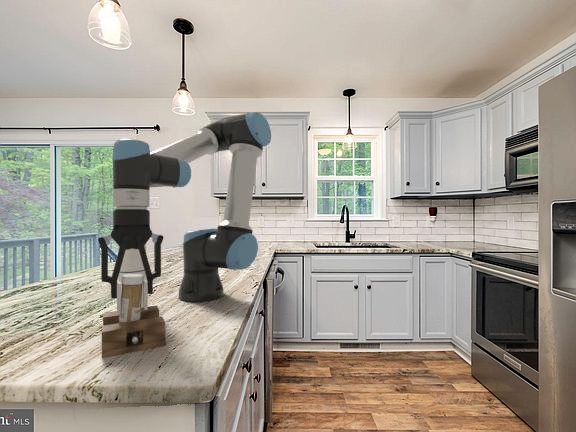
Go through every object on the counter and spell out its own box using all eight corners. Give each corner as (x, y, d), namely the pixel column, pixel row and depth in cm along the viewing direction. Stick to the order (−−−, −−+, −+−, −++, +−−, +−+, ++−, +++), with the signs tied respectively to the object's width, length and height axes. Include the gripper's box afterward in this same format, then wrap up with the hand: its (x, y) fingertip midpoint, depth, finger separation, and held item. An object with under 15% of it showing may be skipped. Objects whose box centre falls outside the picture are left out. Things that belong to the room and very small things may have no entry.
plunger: (139, 335, 71) (139, 324, 71) (141, 345, 65) (141, 334, 65) (127, 337, 70) (127, 326, 70) (128, 348, 64) (128, 336, 64)
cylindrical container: (118, 319, 85) (117, 227, 85) (119, 312, 92) (118, 226, 92) (147, 315, 89) (146, 227, 88) (145, 308, 95) (145, 226, 95)
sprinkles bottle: (140, 335, 71) (145, 276, 72) (118, 338, 68) (123, 276, 69) (137, 329, 75) (142, 273, 75) (116, 332, 72) (121, 273, 73)
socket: (157, 324, 82) (156, 305, 82) (165, 345, 69) (165, 322, 69) (103, 332, 76) (103, 312, 76) (101, 357, 63) (101, 332, 63)
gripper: (84, 207, 64) (85, 321, 65) (175, 208, 73) (175, 308, 73) (87, 208, 71) (87, 311, 71) (170, 209, 80) (170, 300, 80)
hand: (132, 309), depth 72 cm, fingers closed on sprinkles bottle, 5 cm apart
